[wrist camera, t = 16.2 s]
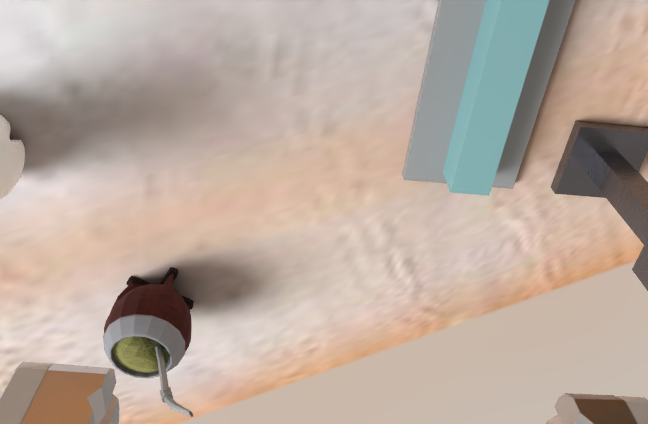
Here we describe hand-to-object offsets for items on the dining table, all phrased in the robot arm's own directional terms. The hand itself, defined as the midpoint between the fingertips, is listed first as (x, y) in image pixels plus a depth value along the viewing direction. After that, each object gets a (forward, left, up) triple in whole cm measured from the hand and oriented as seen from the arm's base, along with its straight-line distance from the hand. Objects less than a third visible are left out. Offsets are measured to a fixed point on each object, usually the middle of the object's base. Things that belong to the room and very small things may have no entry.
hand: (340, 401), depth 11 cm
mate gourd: (+28, -11, -34) cm, 46 cm away
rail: (+3, +13, -33) cm, 36 cm away
